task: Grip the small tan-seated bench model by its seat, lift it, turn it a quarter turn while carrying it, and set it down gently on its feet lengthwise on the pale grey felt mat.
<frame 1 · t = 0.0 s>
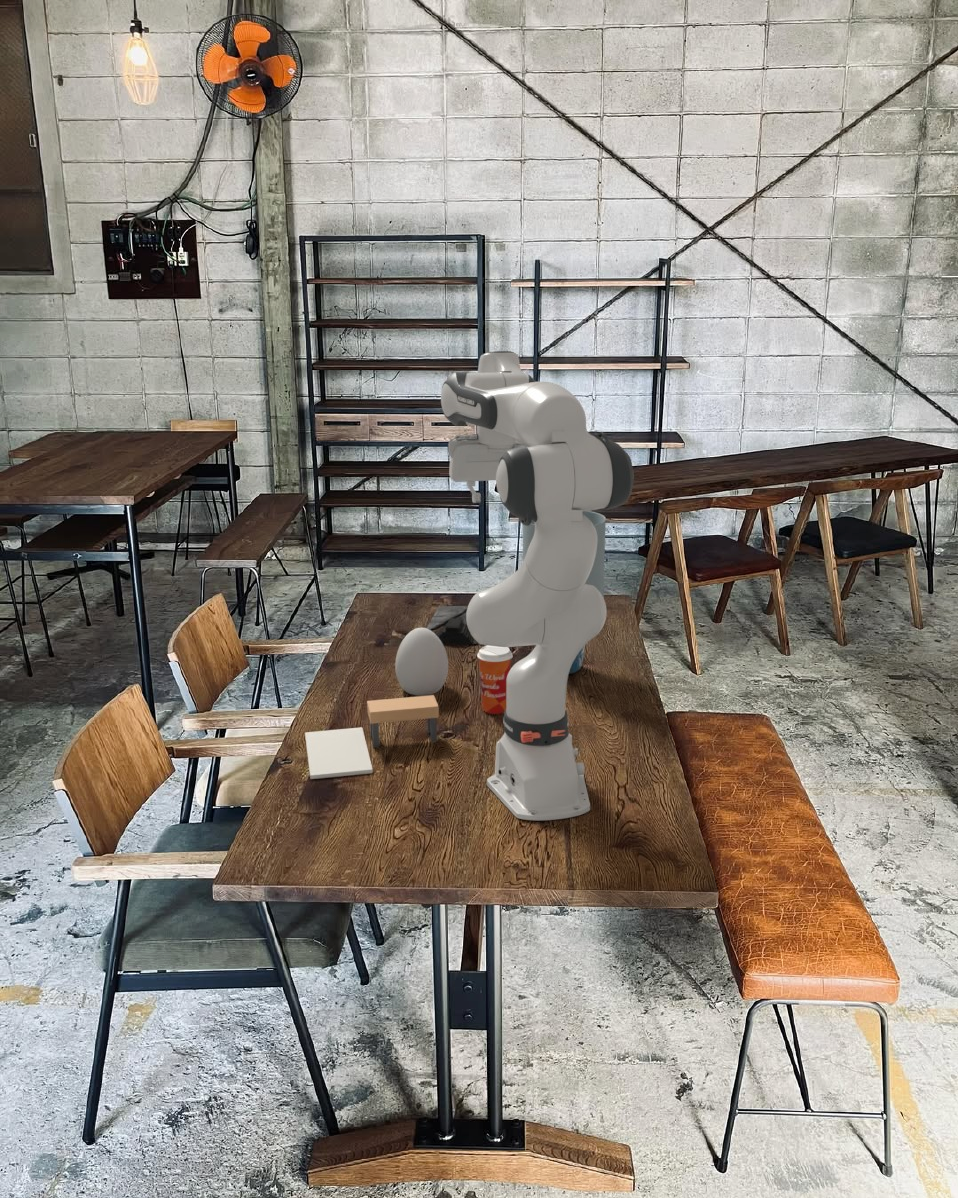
hand: (499, 501, 216), 48 cm above the table, tool pointing down, fingers open, 8 cm apart
architectural model: (460, 628, 289), on the table
bench model: (403, 739, 220), on the table
paper cup: (495, 709, 235), on the table
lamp: (561, 669, 258), on the table
felt mat: (337, 753, 214), on the table
decorative egg: (422, 690, 246), on the table
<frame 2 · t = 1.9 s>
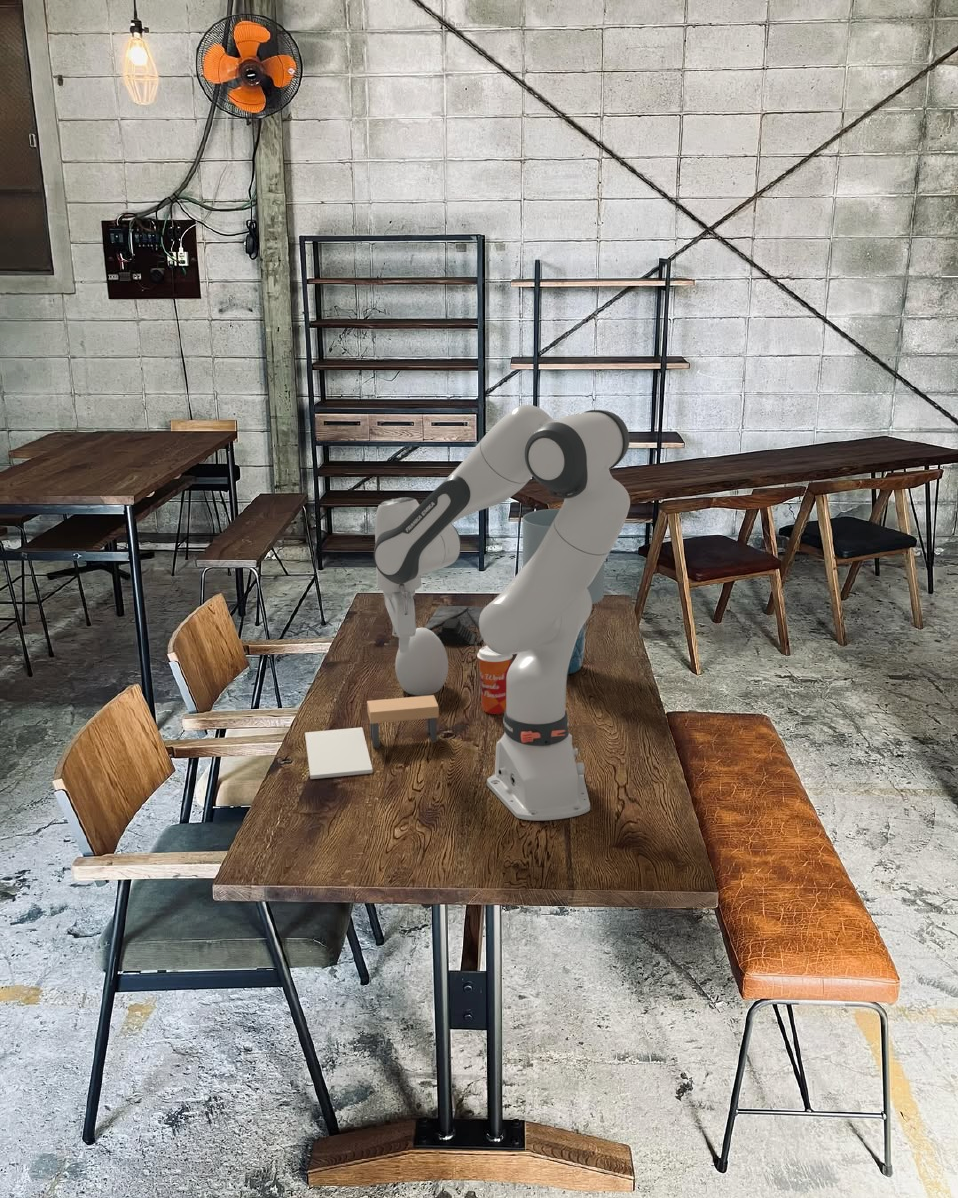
hand: (400, 643, 214), 21 cm above the table, tool pointing down, fingers open, 8 cm apart
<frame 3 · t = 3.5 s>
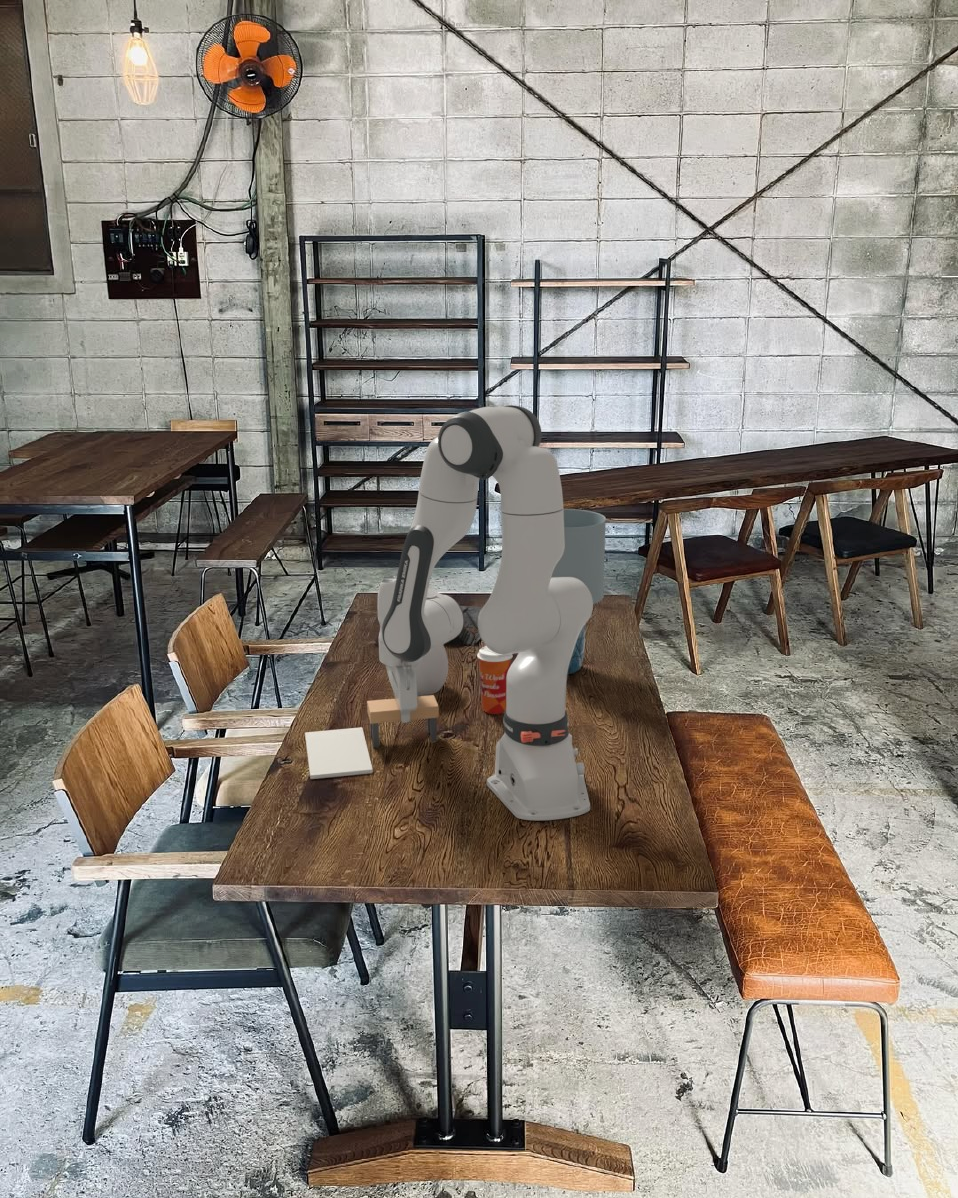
hand: (402, 714, 219), 6 cm above the table, tool pointing down, fingers closed on bench model, 6 cm apart
bench model: (403, 739, 220), on the table, touching gripper
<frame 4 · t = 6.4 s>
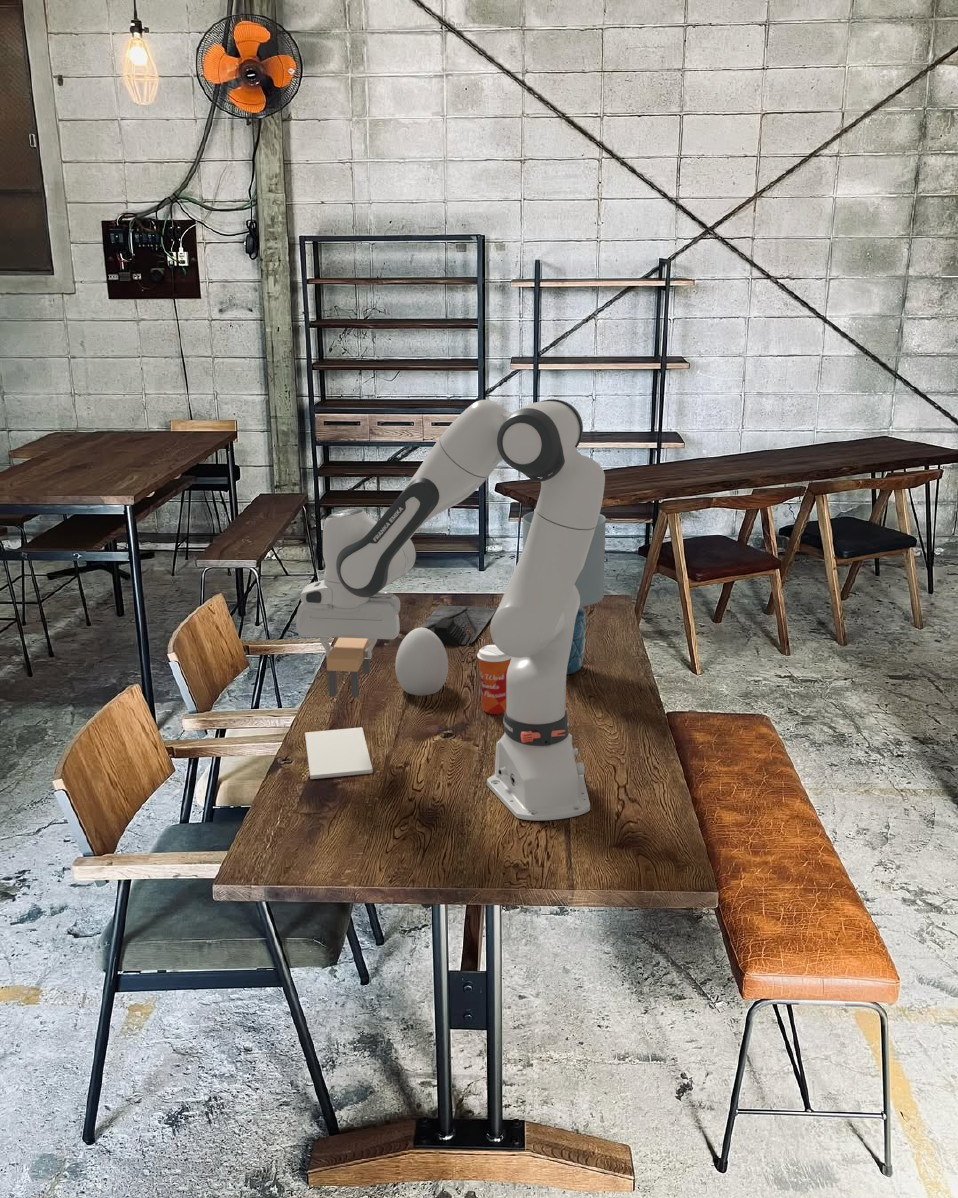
hand: (349, 657, 210), 20 cm above the table, tool pointing down, fingers closed on bench model, 6 cm apart
bench model: (350, 683, 212), point 14 cm above the table, touching gripper
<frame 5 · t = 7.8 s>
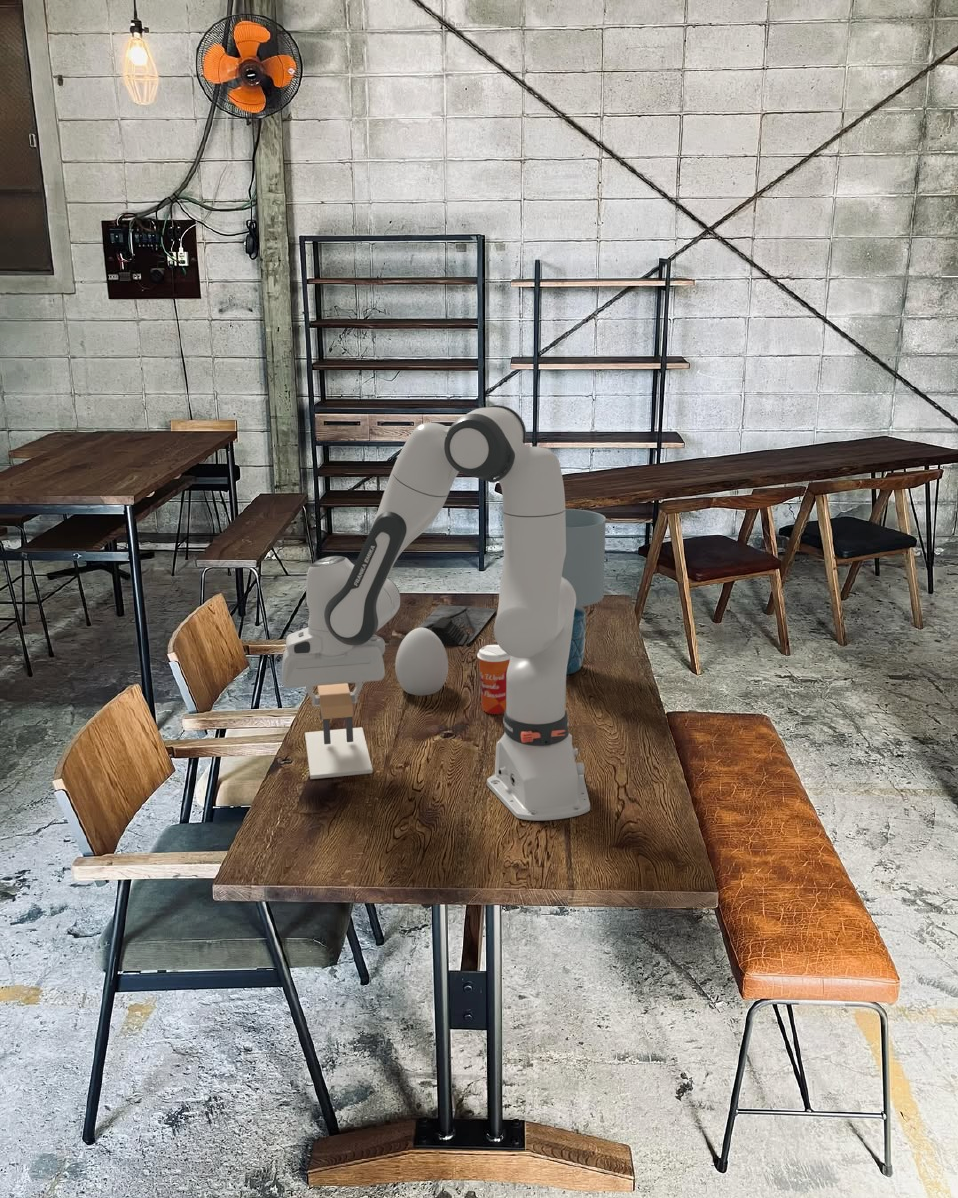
hand: (334, 703, 211), 11 cm above the table, tool pointing down, fingers closed on bench model, 6 cm apart
bench model: (336, 729, 212), point 5 cm above the table, touching gripper
when the fingers open (8 cm above the table, at t = 8.9 s): bench model drops 1 cm, resting on felt mat.
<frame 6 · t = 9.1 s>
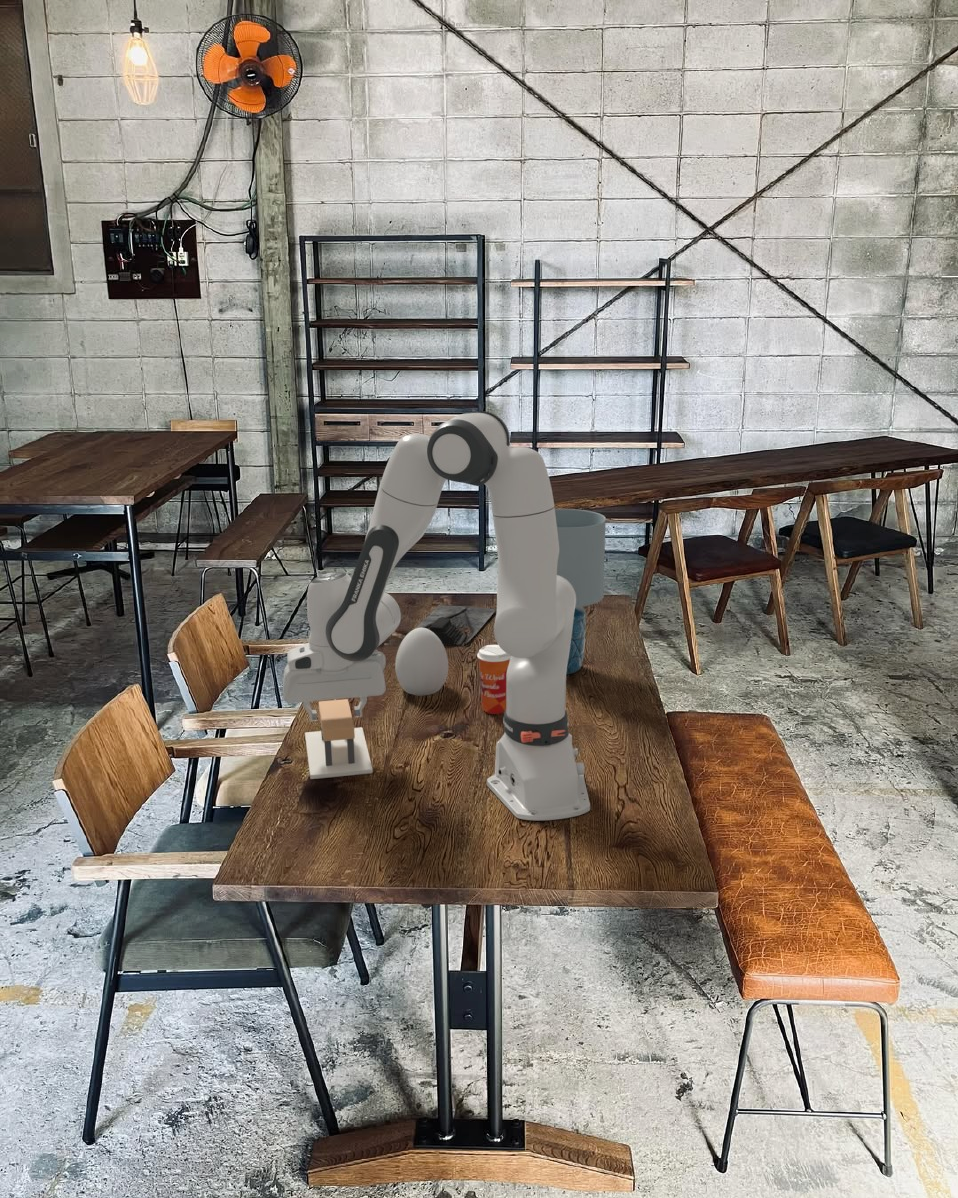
hand: (335, 718, 212), 8 cm above the table, tool pointing down, fingers open, 8 cm apart
bench model: (337, 750, 214), point 1 cm above the table, touching felt mat
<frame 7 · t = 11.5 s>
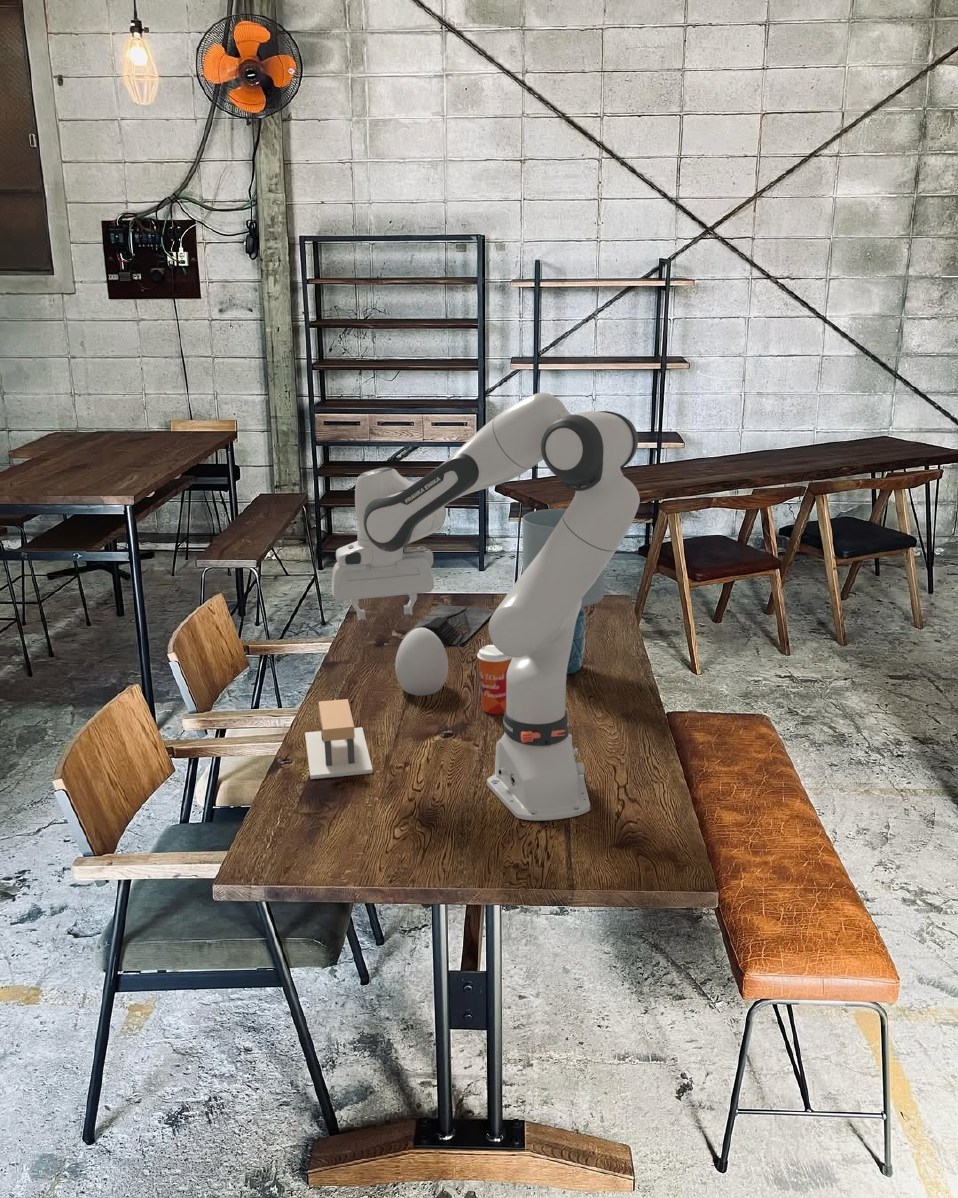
hand: (385, 616, 212), 27 cm above the table, tool pointing down, fingers open, 8 cm apart
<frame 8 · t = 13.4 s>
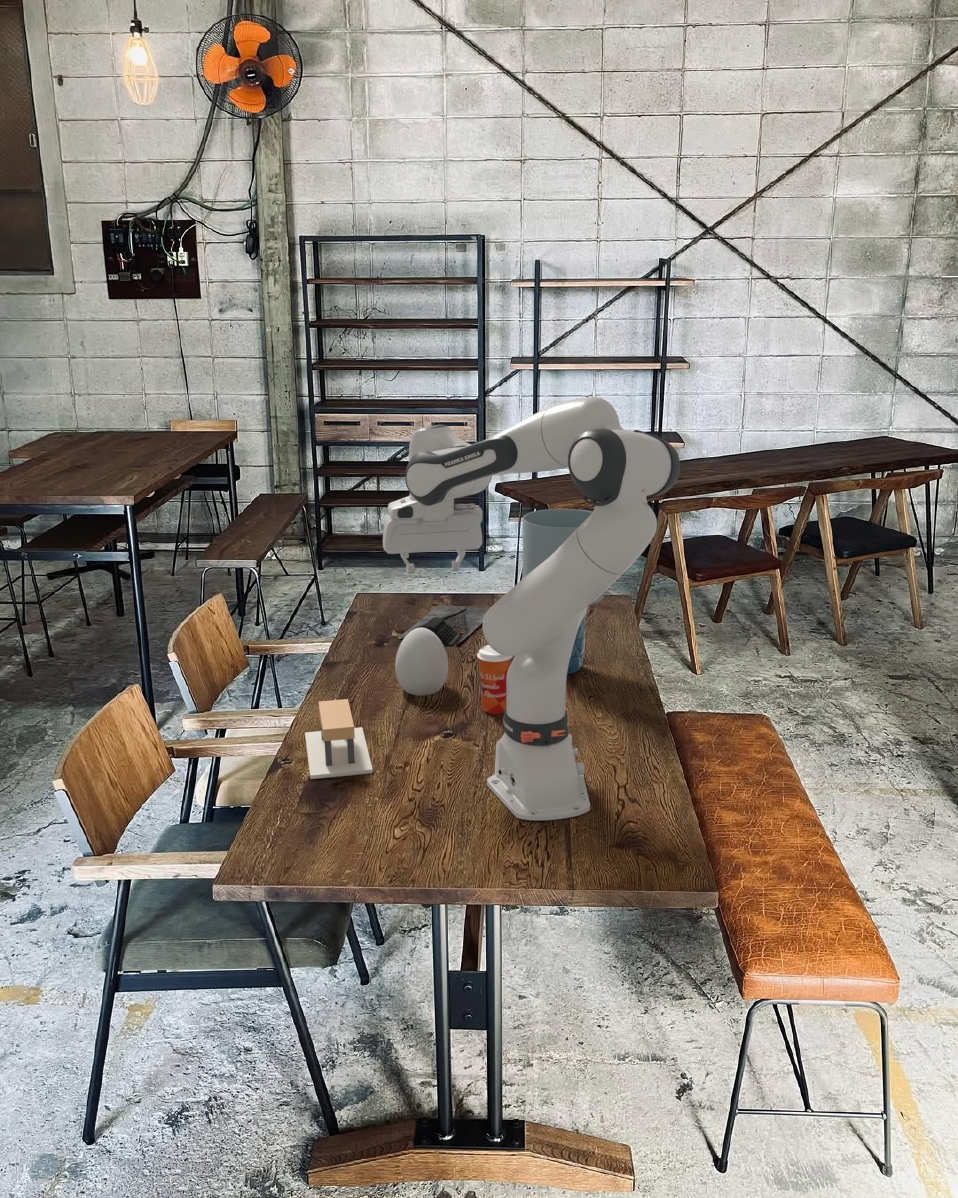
hand: (433, 571, 217), 34 cm above the table, tool pointing down, fingers open, 8 cm apart
at the end: bench model 0.1 cm off-centre on the felt mat, point 0.8 cm above the felt mat's base; bench model tilted 0°; the gripper is holding nothing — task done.
